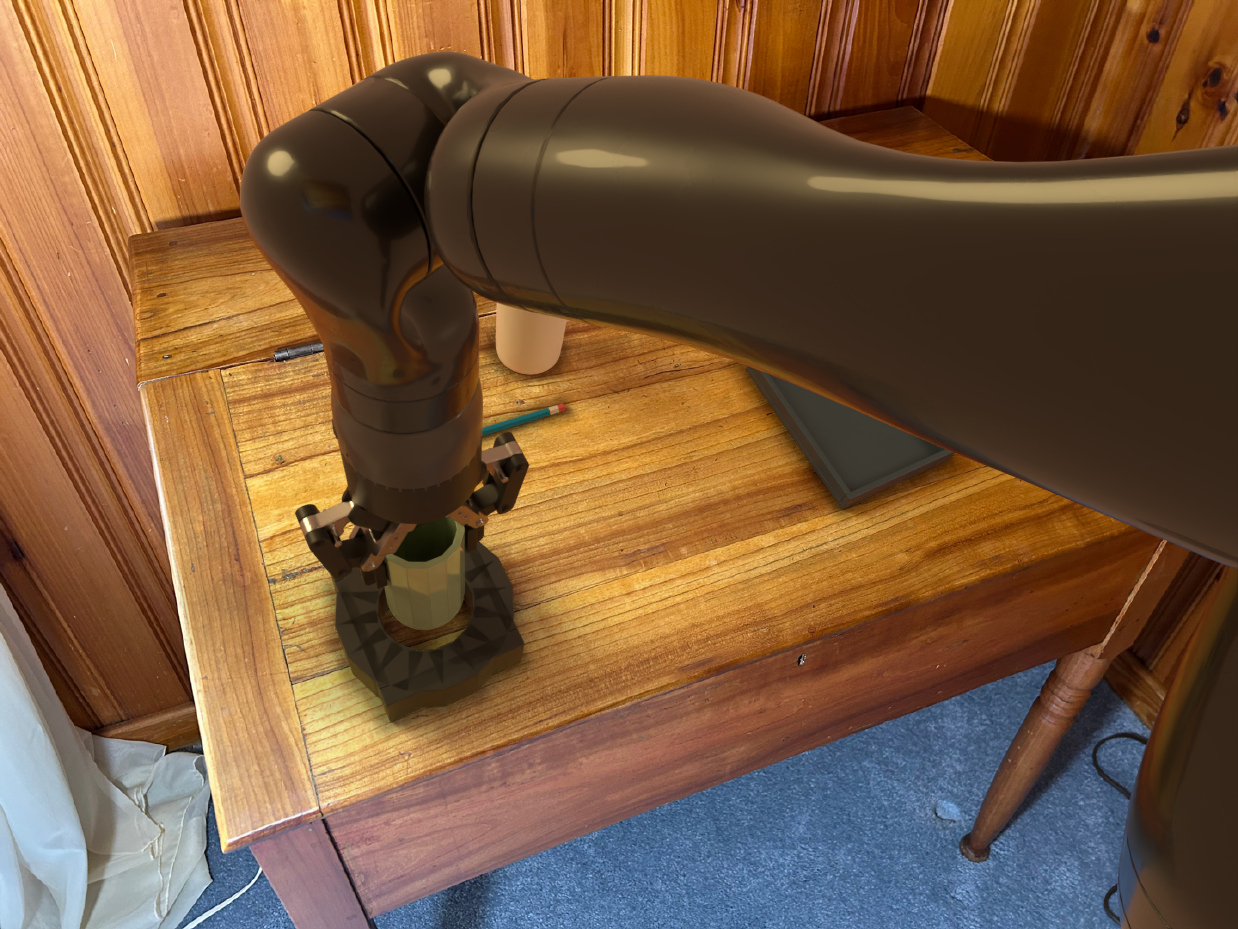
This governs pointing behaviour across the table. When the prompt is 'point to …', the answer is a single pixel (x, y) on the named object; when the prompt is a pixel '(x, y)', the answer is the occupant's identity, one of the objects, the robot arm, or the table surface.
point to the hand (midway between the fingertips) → (422, 557)
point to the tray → (847, 442)
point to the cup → (427, 575)
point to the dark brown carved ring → (433, 672)
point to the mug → (528, 339)
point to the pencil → (523, 419)
